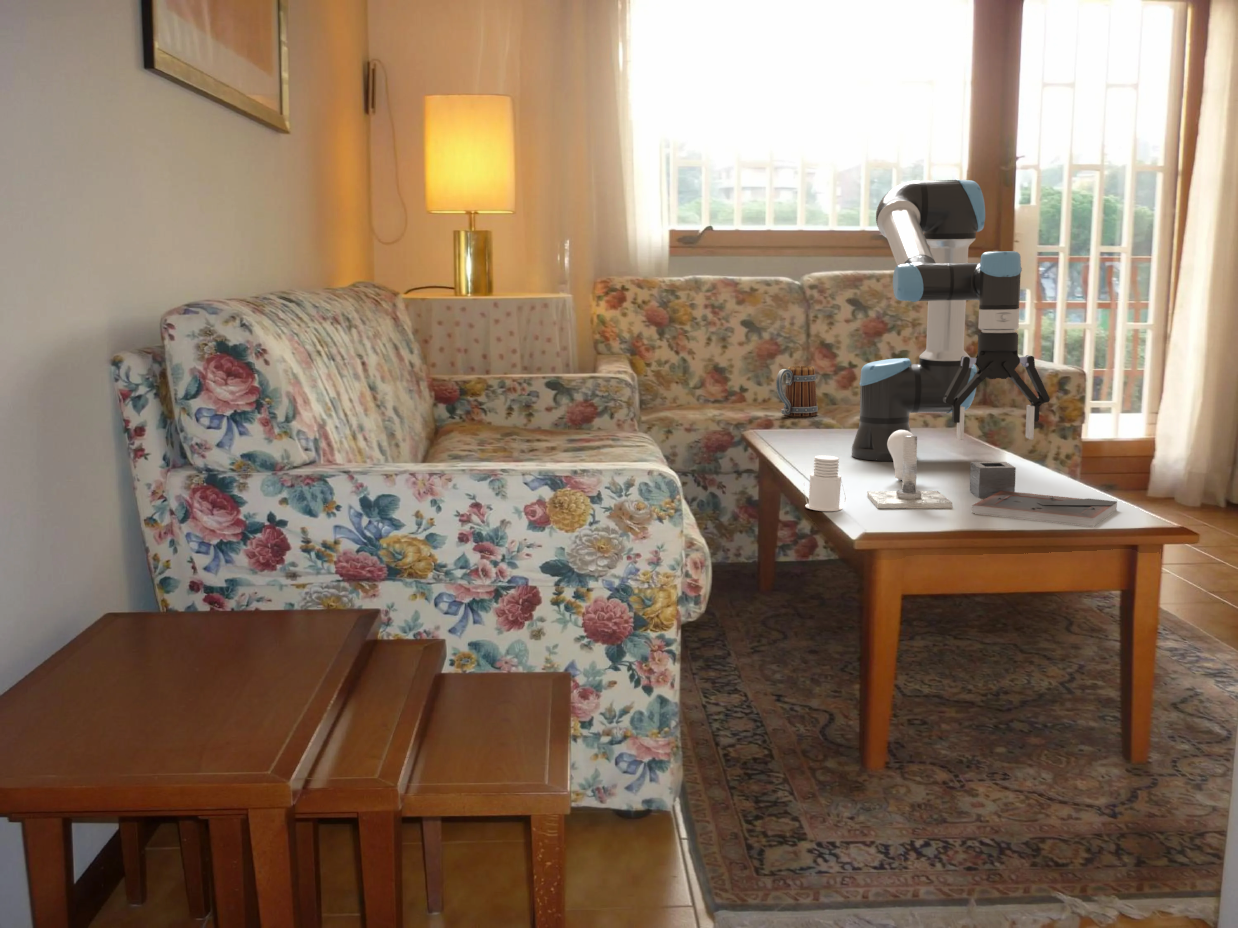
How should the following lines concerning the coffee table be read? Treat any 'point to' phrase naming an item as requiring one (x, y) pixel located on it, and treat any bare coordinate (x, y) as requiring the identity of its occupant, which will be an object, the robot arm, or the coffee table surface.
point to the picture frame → (1045, 508)
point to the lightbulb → (897, 450)
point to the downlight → (825, 485)
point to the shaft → (909, 486)
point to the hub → (991, 478)
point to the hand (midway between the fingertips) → (994, 438)
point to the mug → (798, 391)
